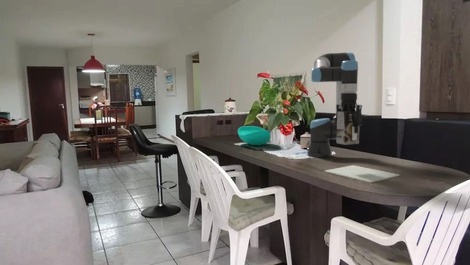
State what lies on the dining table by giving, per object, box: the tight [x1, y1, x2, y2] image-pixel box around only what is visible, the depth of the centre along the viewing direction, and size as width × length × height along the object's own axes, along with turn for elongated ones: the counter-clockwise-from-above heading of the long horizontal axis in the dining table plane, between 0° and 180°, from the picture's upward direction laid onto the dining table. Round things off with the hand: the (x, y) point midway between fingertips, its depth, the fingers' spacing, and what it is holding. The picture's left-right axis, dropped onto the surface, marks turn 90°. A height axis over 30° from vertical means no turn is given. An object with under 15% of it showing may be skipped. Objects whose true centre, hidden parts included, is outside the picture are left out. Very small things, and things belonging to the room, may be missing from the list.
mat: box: [323, 164, 400, 184], centre depth 159 cm, size 26×22×1 cm
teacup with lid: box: [300, 131, 310, 149], centre depth 238 cm, size 12×9×12 cm
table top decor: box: [237, 125, 271, 146], centre depth 256 cm, size 40×28×13 cm
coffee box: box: [336, 111, 360, 146], centre depth 164 cm, size 9×6×16 cm
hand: (347, 138), depth 164 cm, fingers closed on coffee box, 7 cm apart
